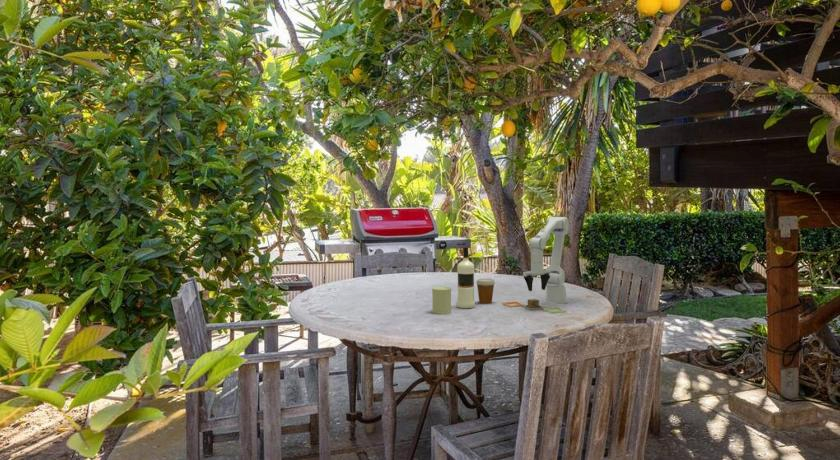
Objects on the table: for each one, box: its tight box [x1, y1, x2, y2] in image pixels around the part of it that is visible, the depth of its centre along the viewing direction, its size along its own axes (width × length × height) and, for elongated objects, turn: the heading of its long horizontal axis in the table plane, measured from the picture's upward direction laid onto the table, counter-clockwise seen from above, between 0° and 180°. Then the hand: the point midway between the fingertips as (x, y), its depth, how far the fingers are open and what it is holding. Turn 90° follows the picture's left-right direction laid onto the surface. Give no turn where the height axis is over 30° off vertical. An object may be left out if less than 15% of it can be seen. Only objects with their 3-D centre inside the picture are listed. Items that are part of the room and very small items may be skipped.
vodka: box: [456, 246, 476, 310], centre depth 288 cm, size 9×9×30 cm
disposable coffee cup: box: [475, 278, 496, 305], centre depth 298 cm, size 10×10×12 cm
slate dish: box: [521, 304, 546, 311], centre depth 284 cm, size 8×8×1 cm
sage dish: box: [542, 306, 567, 315], centre depth 277 cm, size 8×8×1 cm
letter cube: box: [527, 298, 540, 308], centre depth 284 cm, size 4×4×4 cm
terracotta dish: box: [501, 301, 525, 308], centre depth 291 cm, size 8×8×1 cm
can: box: [431, 286, 452, 315], centre depth 278 cm, size 9×9×12 cm
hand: (536, 290), depth 282 cm, fingers open, 7 cm apart
